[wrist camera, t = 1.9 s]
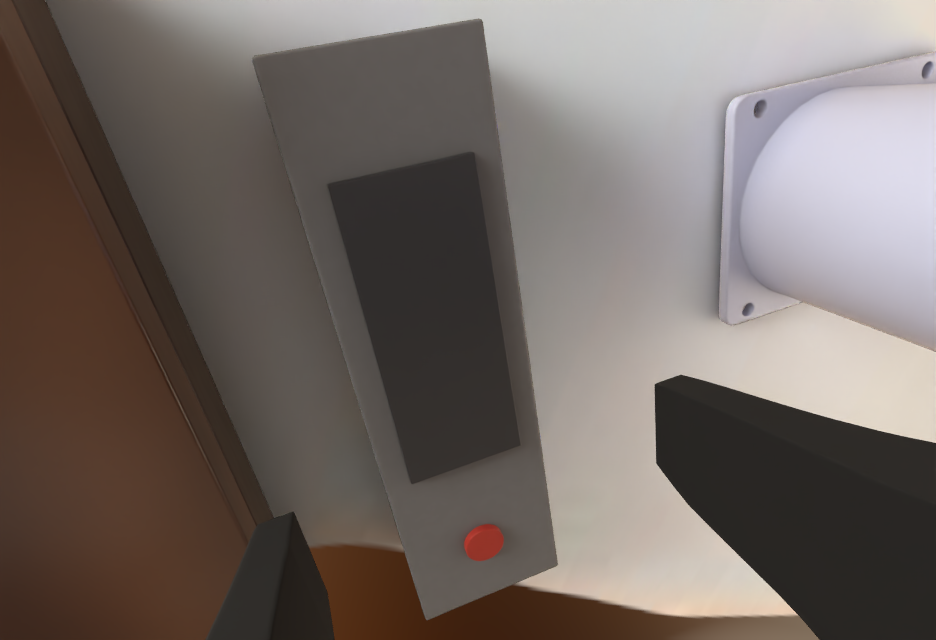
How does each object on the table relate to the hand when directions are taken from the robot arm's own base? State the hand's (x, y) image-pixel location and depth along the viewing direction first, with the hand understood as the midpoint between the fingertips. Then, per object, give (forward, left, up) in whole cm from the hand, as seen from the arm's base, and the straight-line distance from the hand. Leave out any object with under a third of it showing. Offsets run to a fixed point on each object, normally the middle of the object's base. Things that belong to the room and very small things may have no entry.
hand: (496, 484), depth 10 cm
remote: (0, 0, -7) cm, 7 cm away
